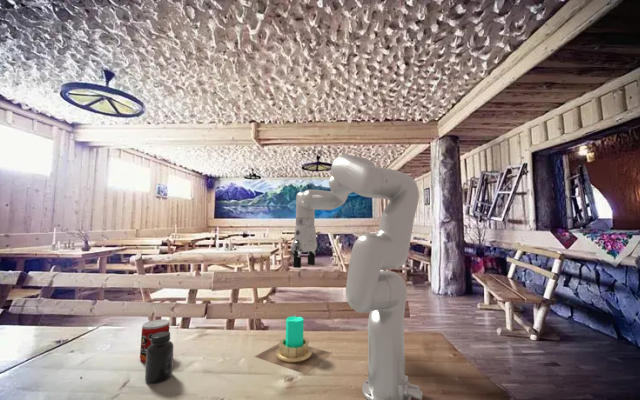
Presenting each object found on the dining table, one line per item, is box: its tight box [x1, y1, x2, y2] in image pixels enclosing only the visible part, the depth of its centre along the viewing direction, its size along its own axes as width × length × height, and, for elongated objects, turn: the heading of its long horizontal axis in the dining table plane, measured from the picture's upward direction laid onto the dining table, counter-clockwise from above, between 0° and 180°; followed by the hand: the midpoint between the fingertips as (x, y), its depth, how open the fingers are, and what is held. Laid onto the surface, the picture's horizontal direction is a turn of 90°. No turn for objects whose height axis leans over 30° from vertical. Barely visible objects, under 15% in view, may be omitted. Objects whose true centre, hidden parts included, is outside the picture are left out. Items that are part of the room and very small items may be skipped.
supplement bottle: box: [144, 331, 174, 385], centre depth 80 cm, size 7×7×12 cm
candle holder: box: [276, 337, 312, 363], centre depth 91 cm, size 12×12×4 cm
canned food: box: [139, 318, 171, 363], centre depth 92 cm, size 8×8×11 cm
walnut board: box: [254, 343, 332, 375], centre depth 91 cm, size 20×16×2 cm
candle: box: [285, 315, 304, 347], centre depth 92 cm, size 6×6×12 cm
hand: (304, 266), depth 109 cm, fingers open, 9 cm apart
